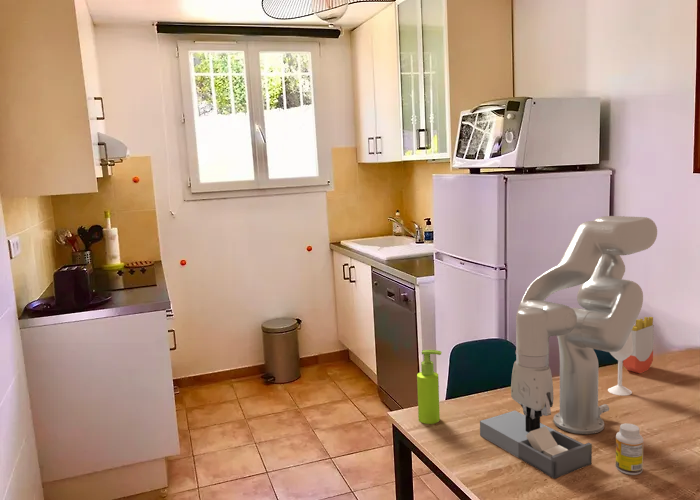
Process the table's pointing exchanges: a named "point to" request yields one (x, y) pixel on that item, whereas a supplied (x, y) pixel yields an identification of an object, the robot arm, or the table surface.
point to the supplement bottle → (629, 449)
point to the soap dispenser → (428, 390)
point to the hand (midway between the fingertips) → (532, 431)
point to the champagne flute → (621, 356)
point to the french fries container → (641, 346)
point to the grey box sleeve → (507, 431)
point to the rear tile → (541, 439)
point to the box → (558, 456)
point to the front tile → (554, 450)
